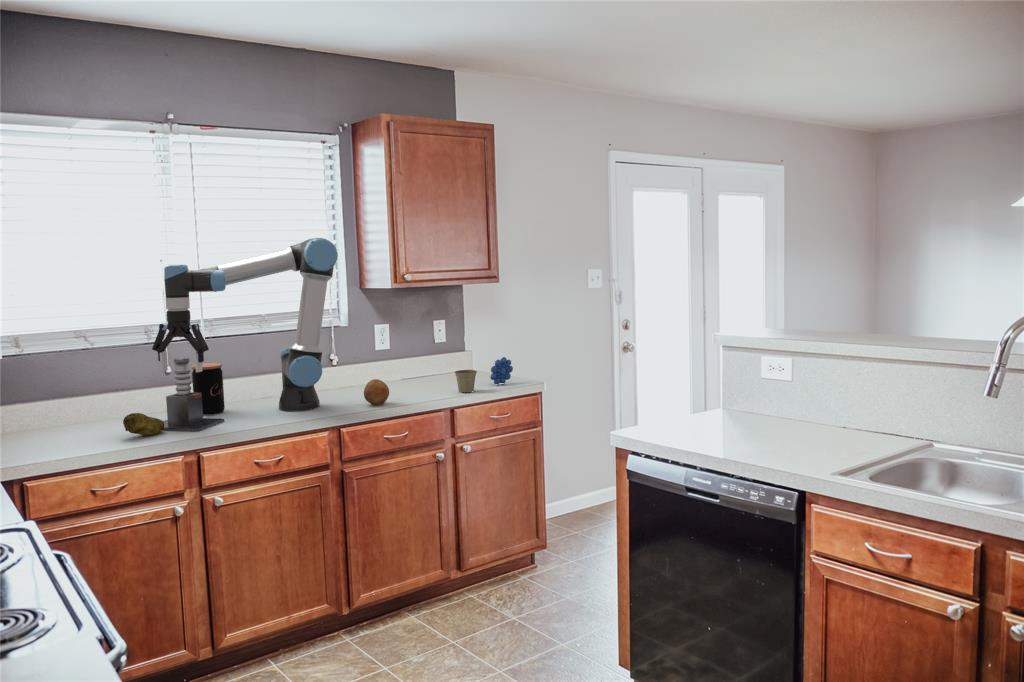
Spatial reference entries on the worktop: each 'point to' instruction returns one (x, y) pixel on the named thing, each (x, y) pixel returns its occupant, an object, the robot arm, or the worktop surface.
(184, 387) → the column
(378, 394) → the brown ball
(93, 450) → the worktop surface
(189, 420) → the stand
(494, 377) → the grapes
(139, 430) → the potato
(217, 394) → the coffee jar
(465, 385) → the flower pot
